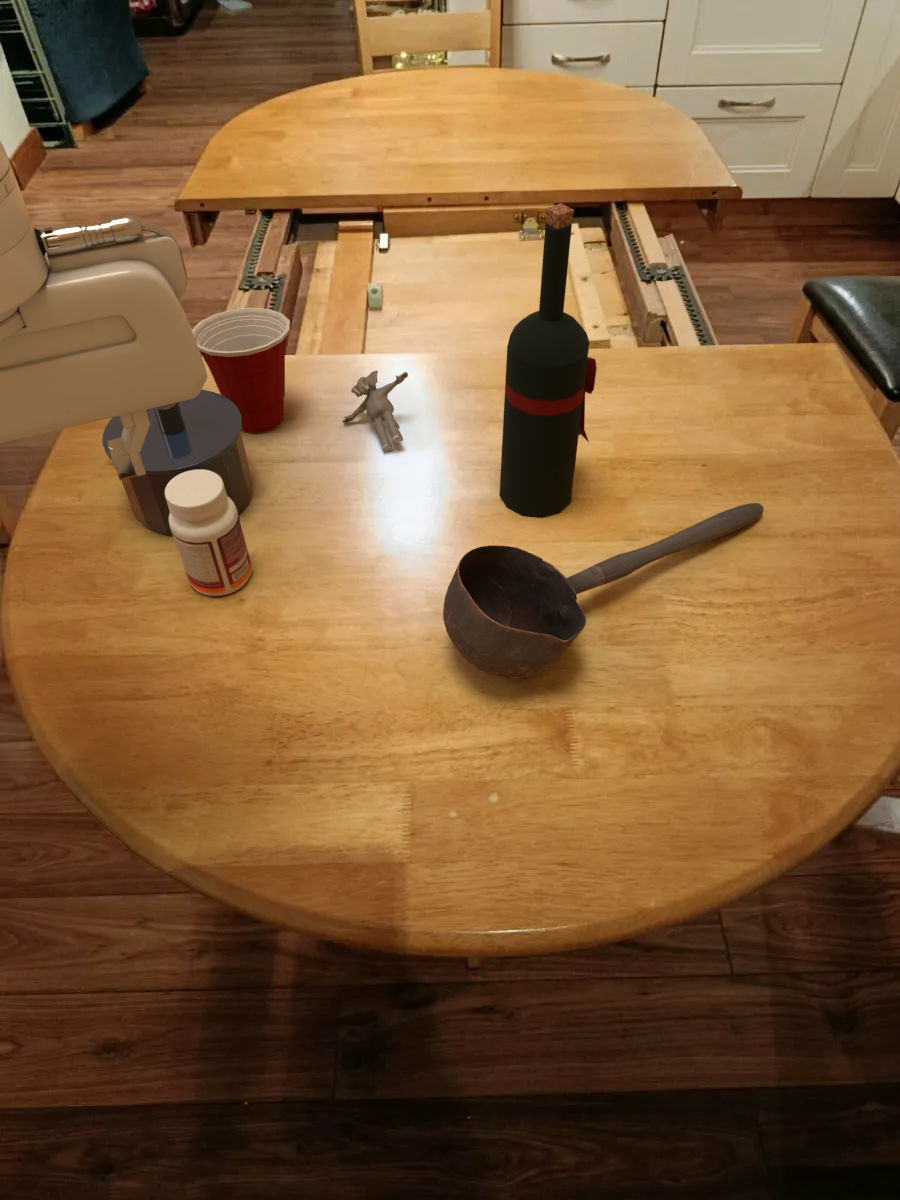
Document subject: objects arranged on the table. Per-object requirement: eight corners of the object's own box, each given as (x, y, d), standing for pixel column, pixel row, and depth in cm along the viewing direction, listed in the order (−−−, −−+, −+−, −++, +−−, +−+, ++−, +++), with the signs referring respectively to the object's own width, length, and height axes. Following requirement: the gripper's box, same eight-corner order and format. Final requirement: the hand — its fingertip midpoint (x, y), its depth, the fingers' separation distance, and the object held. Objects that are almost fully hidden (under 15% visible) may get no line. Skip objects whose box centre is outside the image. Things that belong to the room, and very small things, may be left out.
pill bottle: (244, 546, 86) (220, 457, 77) (259, 587, 82) (236, 498, 74) (183, 564, 84) (152, 475, 76) (196, 606, 80) (165, 517, 72)
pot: (148, 567, 84) (123, 503, 78) (121, 462, 95) (97, 398, 89) (272, 532, 87) (257, 467, 81) (232, 435, 98) (216, 371, 92)
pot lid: (116, 494, 79) (102, 460, 76) (97, 415, 88) (84, 381, 85) (258, 458, 83) (250, 423, 80) (227, 385, 91) (218, 351, 88)
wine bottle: (604, 490, 91) (650, 206, 69) (530, 528, 87) (553, 240, 65) (556, 453, 95) (585, 175, 73) (484, 487, 91) (491, 204, 69)
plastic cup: (295, 385, 105) (279, 294, 96) (314, 435, 98) (299, 342, 89) (207, 402, 103) (183, 310, 94) (220, 454, 96) (194, 361, 87)
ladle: (406, 627, 75) (434, 543, 69) (679, 537, 97) (721, 467, 90) (482, 724, 70) (520, 643, 63) (754, 606, 91) (804, 536, 85)
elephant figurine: (345, 463, 95) (320, 398, 98) (377, 475, 100) (353, 413, 103) (411, 412, 90) (384, 346, 93) (442, 428, 95) (415, 364, 98)
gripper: (158, 182, 41) (218, 417, 52) (-326, 262, 36) (-152, 506, 46) (183, 235, 37) (243, 478, 48) (-355, 334, 32) (-159, 583, 42)
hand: (45, 493), depth 47 cm, fingers open, 8 cm apart
